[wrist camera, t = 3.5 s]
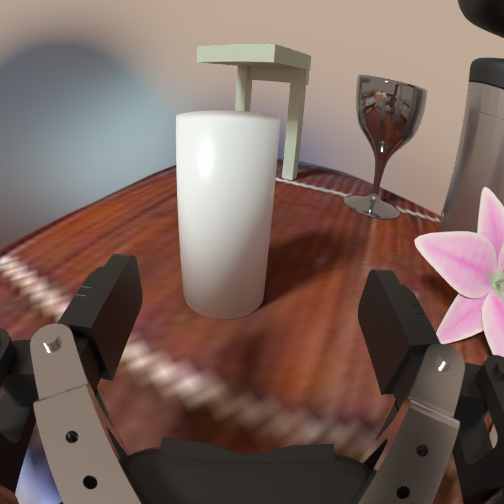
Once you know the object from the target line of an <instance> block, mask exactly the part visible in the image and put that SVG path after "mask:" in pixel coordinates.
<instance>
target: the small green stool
mask: <svg viewBox="0 0 504 504" xmlns="http://www.w3.org/2000/svg"><path fill="white" fill-rule="evenodd" d="M197 63H212V64H225V65H236V66H238V71H237V89H236V108H235V111H246V112H250V104H251V89H252V80H264V81H277V82H289V83H291V85H290V96H289V107H288V120H287V130H286V142H285V152H284V162H283V172H282V178H285V179H289V180H294V179H295V178H297V169H298V161H299V151H300V142H301V131H302V123H303V112H304V102H305V91H306V85H307V84H308V80H309V70H310V63H311V56H309V55H307V54H304V53H301V52H298V51H295V50H292V49H289V48H286V47H282V46H279V45H276V44H236V45H218V46H217V45H216V46H202V47H198V48H197Z"/></svg>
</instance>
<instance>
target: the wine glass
mask: <svg viewBox="0 0 504 504" xmlns="http://www.w3.org/2000/svg"><path fill="white" fill-rule="evenodd" d="M426 99H427V90H425V89H423V88H419V87H417V86H413V85H410V84H406V83H403V82H399V81H394V80H390V79H385V78H380V77H374V76H367V75H358V78H357V86H356V111H357V119H358V123H359V125H360V128H361V129H362V131H363V133H364V134H365V136H366V138H367V140H368V142H369V143H370V145H371V147H372V150H373V152H374V156H375V177H374V184H373V189H372V192H371V194H370V195H369V196H368V195H359V194H354V195H348V196H346V197H345V198H344V203H345V205H346V206H348V207H349V208H350V209H352V210H354V211H356V212H358V213H360V214H363V215H366V216H369V217H374V218H379V219H394V218H397V217H399V215H400V212H399V210H398V209H397V208H396V207H395V206H394V205H392V204H391V203H389V202H387V201H385V200H382V199H379V197H378V191H379V186H380V182H381V178H382V175H383V172H384V168H385V166H386V164H387V162H388V160H389V159H390V157H391V156H392V155H393V154H394V153H395V152H396V151H398V150H399V149H400V148H401V147H402V146H404V145H405V144H407V142H409V141H410V140H411V139H412V138H413V137H414V136H415V134H416V133H417V131H418V129H419V126H420V124H421V121H422V118H423V115H424V110H425V105H426Z"/></svg>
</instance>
